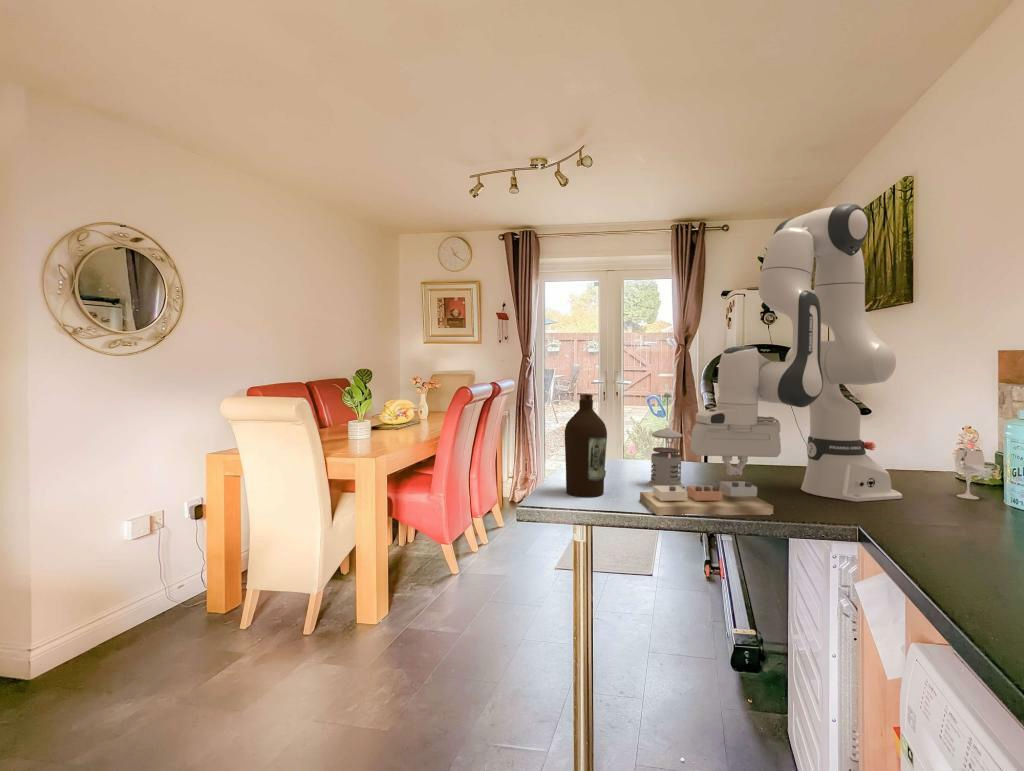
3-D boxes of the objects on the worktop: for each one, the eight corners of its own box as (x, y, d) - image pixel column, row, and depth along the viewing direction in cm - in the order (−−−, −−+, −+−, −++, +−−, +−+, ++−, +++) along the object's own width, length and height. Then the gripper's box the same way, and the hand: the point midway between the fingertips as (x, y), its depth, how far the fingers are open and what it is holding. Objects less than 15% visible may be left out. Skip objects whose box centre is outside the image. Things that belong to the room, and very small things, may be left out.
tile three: (711, 493, 131) (711, 482, 131) (722, 500, 125) (722, 488, 125) (686, 493, 131) (686, 482, 131) (696, 500, 125) (696, 488, 125)
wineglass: (983, 497, 140) (985, 449, 139) (981, 501, 136) (984, 452, 135) (954, 493, 144) (956, 447, 143) (952, 497, 140) (954, 449, 139)
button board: (745, 499, 135) (745, 491, 135) (773, 514, 122) (773, 505, 122) (639, 500, 134) (640, 492, 134) (656, 515, 121) (656, 506, 121)
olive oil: (555, 492, 141) (556, 394, 140) (581, 486, 148) (583, 392, 147) (588, 500, 133) (589, 396, 132) (614, 493, 141) (616, 394, 139)
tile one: (677, 493, 131) (678, 482, 130) (687, 500, 125) (687, 488, 125) (652, 494, 130) (653, 482, 130) (660, 500, 124) (661, 488, 124)
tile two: (744, 489, 131) (744, 478, 131) (756, 496, 125) (757, 483, 125) (719, 489, 131) (719, 478, 131) (730, 496, 125) (731, 483, 125)
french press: (642, 486, 148) (644, 393, 147) (653, 478, 158) (655, 390, 157) (680, 491, 143) (683, 394, 142) (689, 482, 154) (691, 392, 152)
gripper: (773, 415, 132) (770, 473, 133) (688, 413, 131) (686, 471, 132) (787, 418, 126) (785, 478, 126) (699, 416, 125) (696, 477, 125)
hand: (734, 475), depth 129 cm, fingers closed
